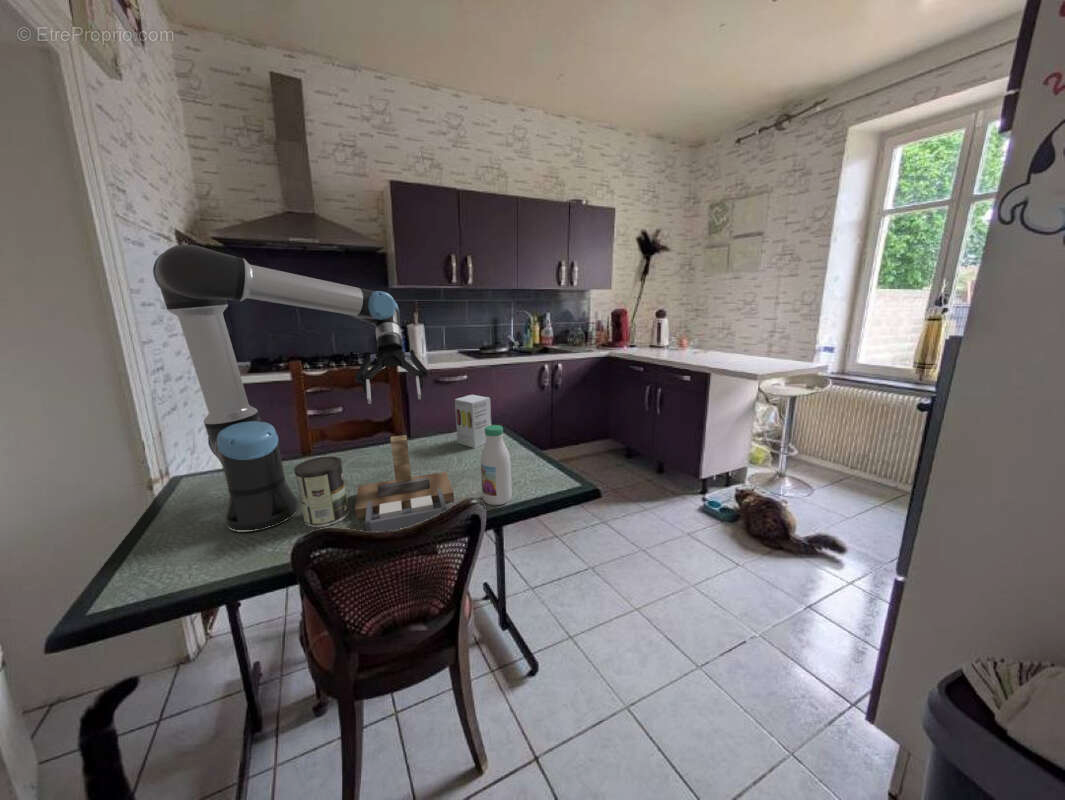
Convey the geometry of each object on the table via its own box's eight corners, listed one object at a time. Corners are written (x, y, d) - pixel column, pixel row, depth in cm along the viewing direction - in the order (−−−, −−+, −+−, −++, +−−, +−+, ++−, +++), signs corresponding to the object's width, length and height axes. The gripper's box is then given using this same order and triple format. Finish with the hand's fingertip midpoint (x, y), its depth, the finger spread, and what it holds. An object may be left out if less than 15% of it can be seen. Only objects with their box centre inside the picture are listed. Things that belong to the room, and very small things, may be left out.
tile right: (412, 519, 99) (411, 508, 98) (411, 509, 103) (410, 498, 103) (434, 515, 100) (432, 504, 100) (431, 505, 105) (430, 495, 104)
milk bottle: (506, 489, 114) (503, 421, 109) (515, 502, 107) (512, 429, 102) (479, 495, 111) (475, 425, 106) (487, 508, 104) (482, 434, 99)
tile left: (380, 525, 97) (379, 514, 96) (381, 515, 101) (379, 504, 100) (403, 521, 98) (401, 510, 97) (402, 511, 103) (401, 500, 102)
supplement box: (456, 443, 150) (453, 399, 146) (474, 436, 158) (471, 393, 153) (475, 448, 145) (472, 402, 141) (493, 441, 152) (490, 397, 148)
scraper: (378, 496, 106) (372, 446, 103) (379, 487, 111) (372, 439, 108) (430, 488, 110) (425, 439, 107) (428, 479, 116) (423, 432, 112)
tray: (367, 539, 92) (365, 523, 91) (369, 516, 102) (367, 501, 101) (448, 523, 98) (446, 508, 97) (442, 503, 107) (441, 489, 106)
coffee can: (341, 502, 109) (333, 452, 106) (355, 516, 102) (347, 463, 99) (298, 516, 103) (288, 464, 99) (310, 533, 95) (300, 477, 92)
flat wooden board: (356, 518, 101) (354, 509, 100) (359, 493, 114) (358, 485, 113) (454, 501, 108) (453, 492, 108) (446, 479, 121) (446, 471, 121)
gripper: (430, 346, 134) (439, 401, 123) (347, 350, 126) (349, 410, 116) (431, 331, 127) (440, 388, 117) (343, 334, 120) (344, 395, 109)
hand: (394, 399), depth 116 cm, fingers open, 13 cm apart
